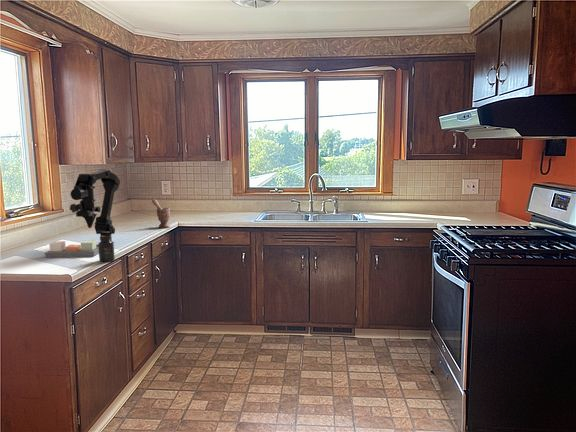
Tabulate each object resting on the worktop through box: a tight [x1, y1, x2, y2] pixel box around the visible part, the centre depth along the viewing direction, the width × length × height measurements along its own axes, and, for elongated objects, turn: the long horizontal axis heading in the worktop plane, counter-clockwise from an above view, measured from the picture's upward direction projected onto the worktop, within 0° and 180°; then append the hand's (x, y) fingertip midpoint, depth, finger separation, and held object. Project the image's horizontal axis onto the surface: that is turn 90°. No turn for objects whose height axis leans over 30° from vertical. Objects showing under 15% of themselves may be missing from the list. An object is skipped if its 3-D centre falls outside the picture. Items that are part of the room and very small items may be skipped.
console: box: [44, 246, 99, 259], centre depth 222 cm, size 10×23×2 cm, turn 95°
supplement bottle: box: [97, 235, 116, 263], centre depth 210 cm, size 7×7×12 cm
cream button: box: [48, 240, 67, 252], centre depth 221 cm, size 5×5×4 cm
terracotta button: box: [65, 244, 81, 251], centre depth 222 cm, size 5×5×4 cm
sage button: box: [80, 240, 97, 251], centre depth 222 cm, size 5×5×4 cm
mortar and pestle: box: [151, 198, 171, 229], centre depth 297 cm, size 12×9×20 cm
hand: (89, 227), depth 230 cm, fingers closed
